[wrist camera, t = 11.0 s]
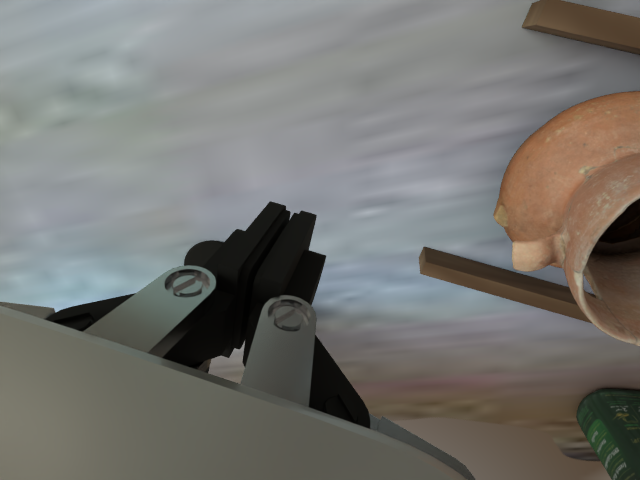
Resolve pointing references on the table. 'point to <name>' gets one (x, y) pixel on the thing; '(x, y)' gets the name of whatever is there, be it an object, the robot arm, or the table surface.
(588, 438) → the coffee jar
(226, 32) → the table surface
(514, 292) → the walnut bay
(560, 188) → the ceramic jug
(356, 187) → the table surface
